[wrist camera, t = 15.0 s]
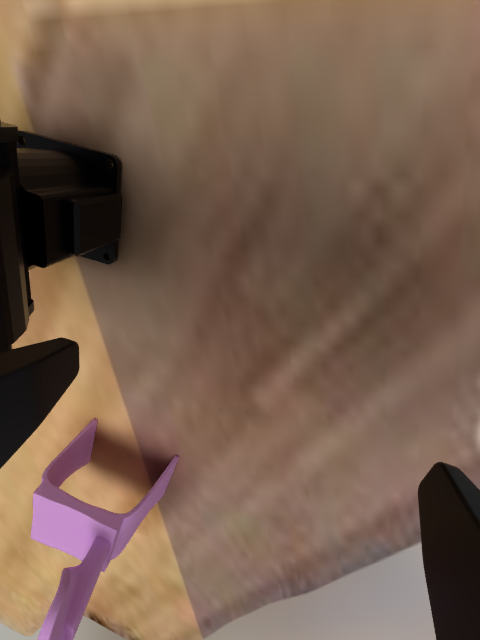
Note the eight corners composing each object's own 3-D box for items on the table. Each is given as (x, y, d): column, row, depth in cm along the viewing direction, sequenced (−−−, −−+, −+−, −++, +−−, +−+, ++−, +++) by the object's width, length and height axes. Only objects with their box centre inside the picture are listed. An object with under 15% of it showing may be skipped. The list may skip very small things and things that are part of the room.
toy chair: (90, 407, 29) (-103, 616, 16) (182, 448, 29) (64, 696, 16) (80, 464, 33) (-79, 668, 20) (161, 501, 33) (53, 732, 20)
